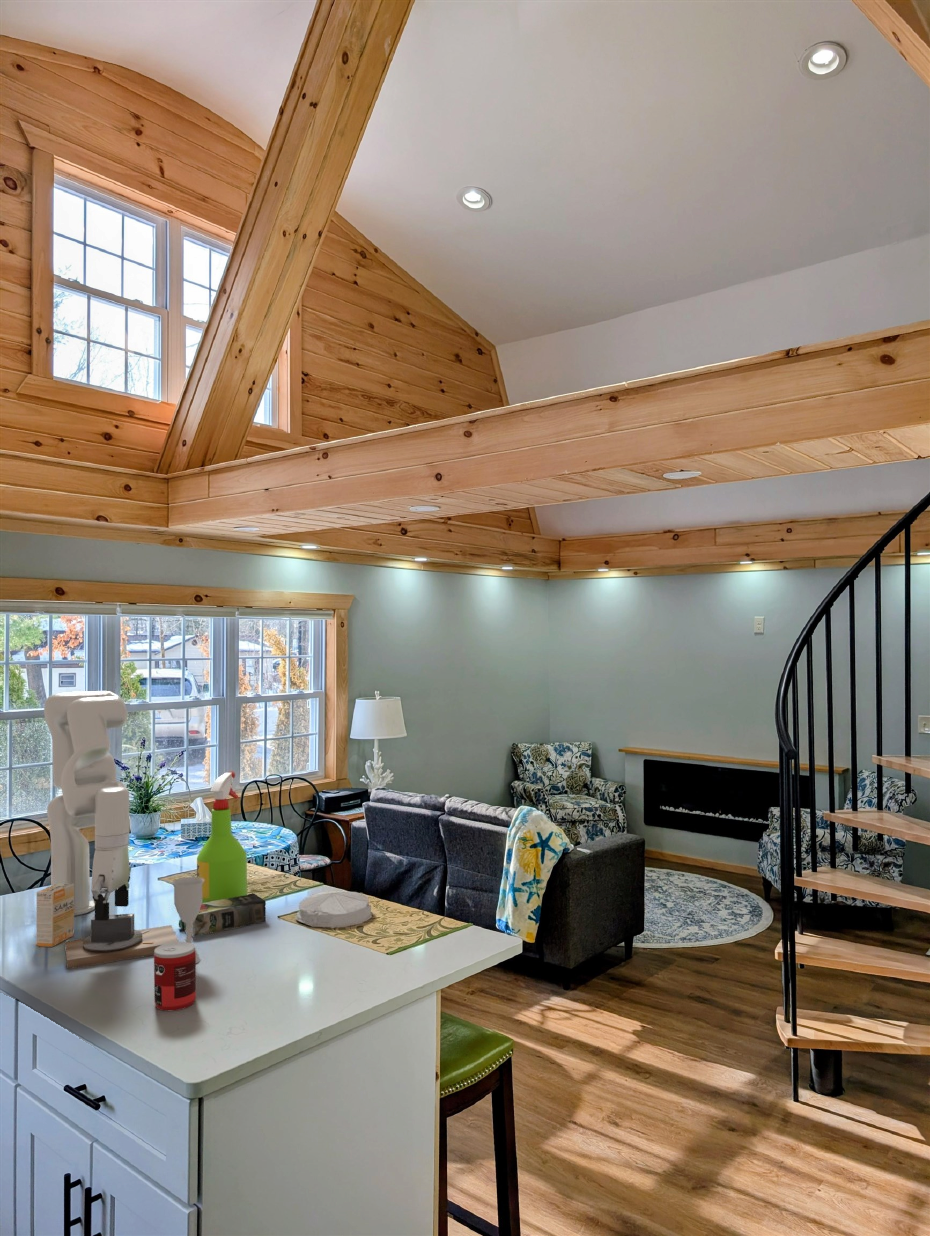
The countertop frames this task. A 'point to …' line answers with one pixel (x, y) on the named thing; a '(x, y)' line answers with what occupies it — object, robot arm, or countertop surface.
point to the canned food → (174, 975)
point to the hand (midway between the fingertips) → (112, 912)
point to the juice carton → (228, 914)
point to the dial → (112, 934)
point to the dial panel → (146, 947)
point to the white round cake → (334, 909)
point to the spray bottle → (222, 850)
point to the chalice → (188, 902)
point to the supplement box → (55, 914)
